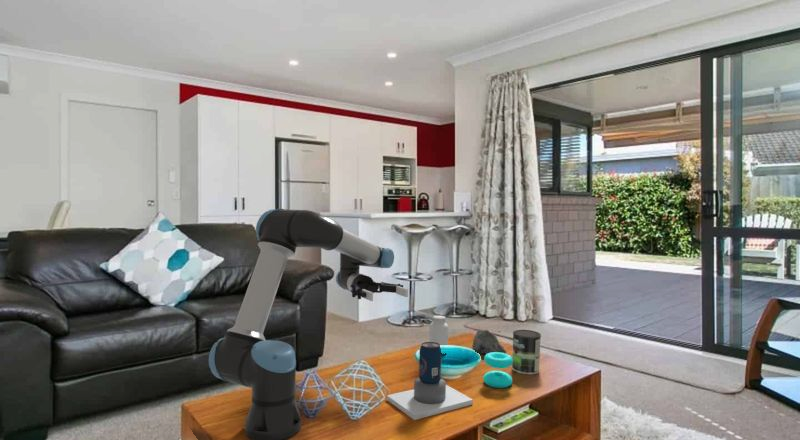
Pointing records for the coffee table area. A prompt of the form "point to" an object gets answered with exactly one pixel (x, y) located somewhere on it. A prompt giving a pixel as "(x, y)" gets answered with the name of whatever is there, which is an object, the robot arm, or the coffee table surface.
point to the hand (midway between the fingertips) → (389, 294)
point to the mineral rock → (487, 343)
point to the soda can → (430, 363)
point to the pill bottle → (438, 330)
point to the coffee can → (526, 351)
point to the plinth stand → (428, 399)
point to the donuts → (498, 377)
